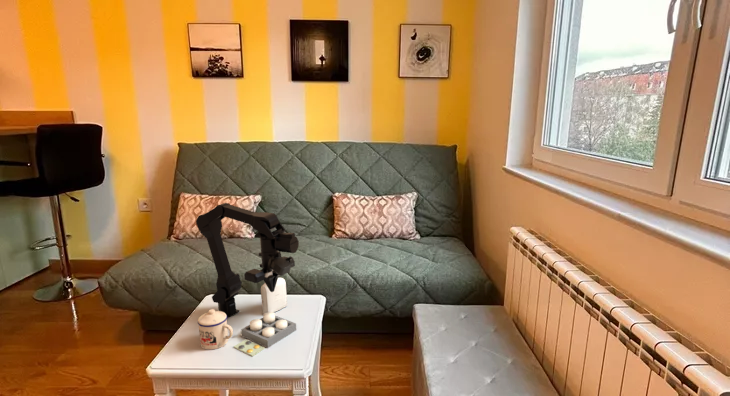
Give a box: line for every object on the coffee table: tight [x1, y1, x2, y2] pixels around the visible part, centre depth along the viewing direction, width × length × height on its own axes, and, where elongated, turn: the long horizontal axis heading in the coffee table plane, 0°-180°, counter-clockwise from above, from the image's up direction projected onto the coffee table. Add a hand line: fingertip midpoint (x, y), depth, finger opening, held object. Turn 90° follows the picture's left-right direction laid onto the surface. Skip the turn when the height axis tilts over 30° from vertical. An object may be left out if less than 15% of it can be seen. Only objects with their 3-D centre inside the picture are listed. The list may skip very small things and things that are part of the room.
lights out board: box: [233, 315, 297, 357], centre depth 137 cm, size 13×19×2 cm
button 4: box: [275, 319, 288, 330], centre depth 140 cm, size 4×4×3 cm
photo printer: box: [260, 277, 288, 315], centre depth 155 cm, size 10×4×12 cm, turn 141°
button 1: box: [249, 318, 262, 333], centre depth 138 cm, size 4×4×3 cm
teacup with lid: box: [197, 308, 234, 350], centre depth 132 cm, size 12×9×12 cm
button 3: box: [262, 312, 276, 325], centre depth 143 cm, size 4×4×3 cm
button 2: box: [262, 327, 275, 338], centre depth 135 cm, size 4×4×3 cm
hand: (272, 291), depth 144 cm, fingers closed
